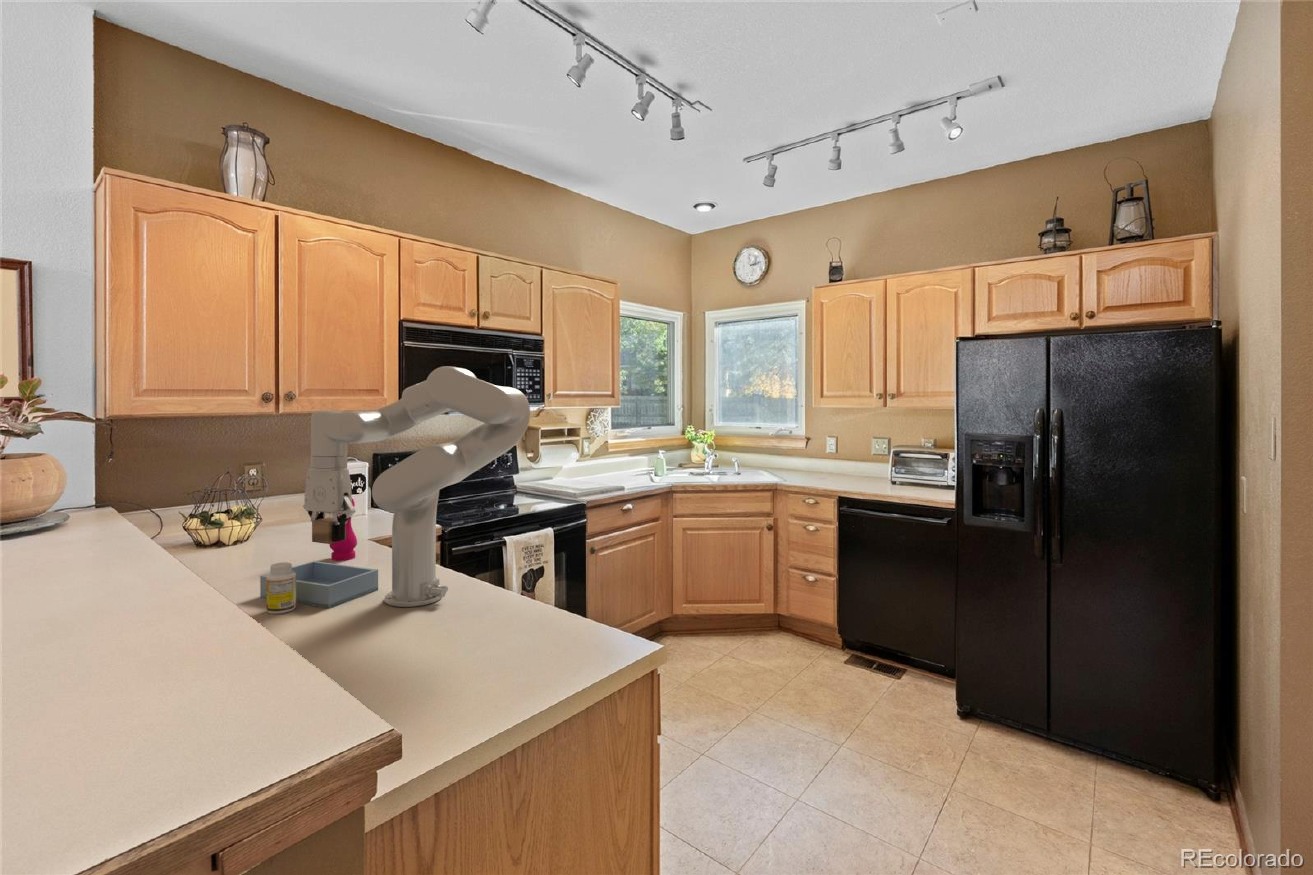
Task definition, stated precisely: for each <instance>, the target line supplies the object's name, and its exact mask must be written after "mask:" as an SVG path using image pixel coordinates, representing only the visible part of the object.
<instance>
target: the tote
mask: <svg viewBox="0 0 1313 875" xmlns="http://www.w3.org/2000/svg"><path fill="white" fill-rule="evenodd" d="M292 571H294V572H295V573H296V604H301V605H306V606H311V607H319V608H322V609H323V608H324V609H331V608H333V607H335V606H336V607H337V606H339V605H341V604H344V603H346V602H349V601H353V600H355V599H357V598H360V597H363V596H366V595H368V594H371V593H373V591H374V592H376V591H378V590H379V569H377V568H376V569H375V568H368V567H361V566H360V567H359V566H354V565H353V566H352V565H347V564H338V563H332V562H324V561H318V560H317V561H315V560H313V561H309V562H305V563H301V564H298V565H295V566H292ZM268 574H270V572H269V573H267V574H262V575H259V576H260V577H259V585H260V586H259V588H260V590H259V591H260V593H259V594H260V598H263V599H264V598H265V599H267V592H266V577H267V575H268Z"/></svg>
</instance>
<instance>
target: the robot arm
mask: <svg viewBox="0 0 1313 875" xmlns="http://www.w3.org/2000/svg"><path fill="white" fill-rule="evenodd" d="M528 400H529V399H528V397H527V396H526V395H525V394H524V393H523V392H522V391H521V390H519V389H517V388H514V387H511V386H502V385H495V384H493V383H490V382H487V381H485V380H482V379H479V378H477V376H476V375H475V373H473V372H472V371H470V370H468V369H467V368H463V367H458V366H457V367H456V366H450V365H449V366H448V365H447V366H446V365H445V366H443V365H442V366H440V367H437V368H435V369H433V371H431V372H430V373H429V375H428V376H427V378H426V380H424V381H421V382H419V383H416V384H412V385H411V386H408V387H406V388H405V389H403V391H402V394H401V398H400V399H399V400H397V401H395V402H393V403H390V404H388V405H386V406H383V407H380V408H378V409H374V410H352V411H339V410H317V411H316V410H315V411H314V412H313V413H312V415H310V416H311V418H310V459H309V461H310V468H308V471H307V474H306V480H305V487H304V504H303V507H302V508H304V509H305V511H306V512H307V513H308V516H309V517H310V522H311V523H312V521H313V520H318V519H323V518H326V514H332V517H333V520H334V524H335V525H332V541H333V542H337V541H341V540H344V539H345V523H347V520H348V519H349V518H350V516H352V515H353V516H354V514H355V513H356V508H355V506H354V507H353V505H352V503H351V501H352V499H353V497H352V496H353V495H352V483H351V482H352V481H351V476H350V471H349V469H348V444H353V445H354V444H355V445H356V444H363V443H364V444H365V443H374V442H379V441H380V442H381V441H384V440H387V439H389V438H391V437H394V436H397V435H399V434H401V433H404V432H406V431H409V430H411V429H413V428H415V427H416V426H418V425H420V424H421V423H423V422H425V421H428V420H430V419H433V418H435V417H438V416H440V415H443V414H446V413H448V412H450V411H453V412H457V413H459V414H461V415H464V416H467V417H469V418H472V419H474V420H476V421H478V422H482V424H480V425H479V426H477V427H475V428H473V429H471V430H469V431H468V432H467V433H464V434H463V435H461V436H460V437H458V438H456V439H454V440H452V441H449V442H446V443H445V442H444V443H438V444H434V445H432V444H431V445H429V446H426V447H424V448H422V449H420V450H418V451H416V452H414V453H413V454H411V455H409V456H407V457H406V458H404V459H403V460H401V461H399V462H397V463H396V464H394V465H392V466H391V467H389V468H388V469H386V470H384V471H383V472H382V473H380V474H379V475H378V476H376V477H377V478H376V479H375V481H373V485H372V487H371V489H372V490H371V497H372V499H373V502H374V503H375V505H377V507H378V508H379V509H380V510H383V511H385V512H389V513H393V517H392V522H391V523H392V525H391V526H392V527H391V528H392V529H391V575H392V576H391V591H390V592H388V593H386V594H385V596H384V603H385V604H387V605H389V606H391V607H400V608H410V607H411V608H412V607H413V608H414V607H419V606H420V607H421V606H427V605H429V604H432V603H436V602H437V601H439V600H440V599H442V598H445V596H446V594H447V592H448V590H449V587H448V586H447V585H440V578H436V577H437V576H436V574H437V573H436V569H437V566H436V562H437V561H436V560H437V559H436V557H437V555H436V554H437V553H436V551H437V550H436V549H437V548H436V546H437V545H436V542H437V540H436V539H437V537H436V536H437V534H436V533H437V512H438V510H437V509H438V503H439V502H438V501H439V496H440V490H442V489H444V488H446V487H448V486H452V485H455V484H458V483H460V482H462V481H463V480H464V479H466V478H467V477H469V476H470V475H472V474H473V473H475V472H477V471H478V470H480V469H482V468H484V467H485V466H487V465H488V464H490V463H491V462H493V461H494V460H496V459H497V458H499V457H501V456H503V455H504V454H505V453H507V452H508V451H510V450H512V448H513V447H514V446H516V445H517V444H518V443H519V442H520V441H521V439H522V438H523V437H524V435H525V433H526V432H527V430H528V427H529V424H530V419H531V409H530V408H531V407H530V403H529V401H528ZM338 510H340V511H338ZM345 510H346V511H345ZM339 513H340V517H339V516H338V514H339Z"/></svg>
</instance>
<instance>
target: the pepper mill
mask: <svg viewBox="0 0 1313 875" xmlns="http://www.w3.org/2000/svg"><path fill="white" fill-rule="evenodd" d="M351 503H352V505H353V507H354V508H355V500H354V498H352V501H351ZM338 511H340V510H338ZM345 511H346V510H345ZM338 516H339V517H340V513H339V514H338ZM353 516H354V514H353V515H352V516H350V518H349V519H348V520H347V523H346V540H343V541H339V542H335V543H331V544H328V545H329V548H330V549H331V550H332V552H331V553H330V554H331V556H330V557H331V558H330V559H331V560H332V561H336V562H337V561H338V562H339V561H340V562H341V561H348V560H349V561H350V560H352V559H355V558H356V550H354V549H355V548H356V547H357V545H358V538H357V536H356V534H355V532H354V529H353V526H352V517H353Z"/></svg>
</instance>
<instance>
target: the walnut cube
mask: <svg viewBox="0 0 1313 875" xmlns="http://www.w3.org/2000/svg"><path fill="white" fill-rule="evenodd" d="M332 525H335V524H334V520H333V516H332V517H331V516H328V517H325V518H323V519H318V520H313V521H312V522H311V542H312V543H319V544H326V545H329V544H331V543H335V542H333V541H332ZM344 540H346V523H345V539H344ZM341 541H343V540H341ZM337 542H339V541H337Z"/></svg>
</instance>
